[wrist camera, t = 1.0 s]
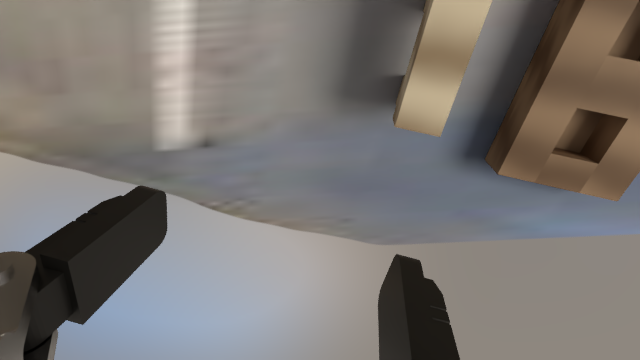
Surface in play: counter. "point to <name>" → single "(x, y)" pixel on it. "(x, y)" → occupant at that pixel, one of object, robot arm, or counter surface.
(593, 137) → the brown slotted wooden block
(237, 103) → the counter surface
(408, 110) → the beige wooden plank
